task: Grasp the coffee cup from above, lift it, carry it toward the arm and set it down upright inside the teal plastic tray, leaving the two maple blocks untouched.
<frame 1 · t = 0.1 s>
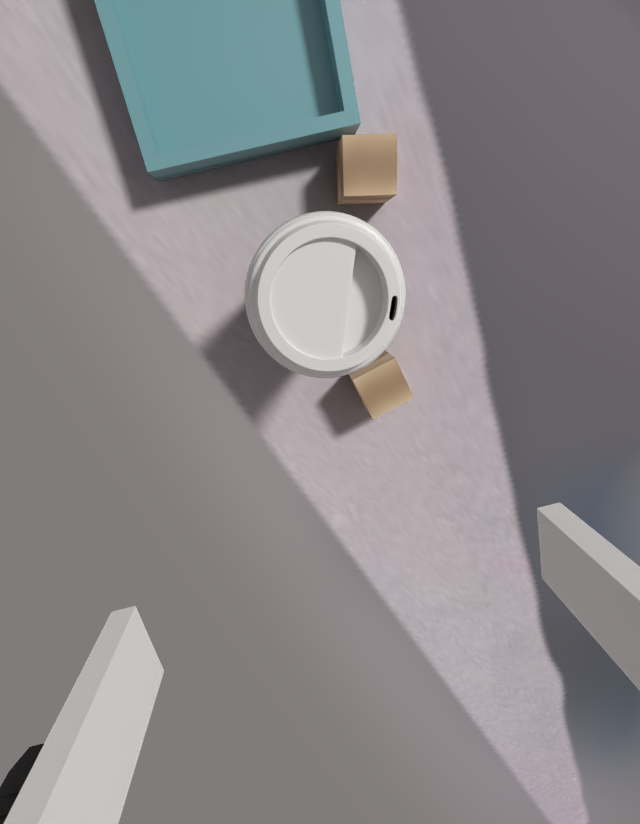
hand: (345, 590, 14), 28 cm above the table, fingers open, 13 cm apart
tray: (228, 38, 32), on the table
coffee cup: (311, 292, 38), on the table
maple block A: (374, 378, 41), on the table
maple block B: (360, 177, 36), on the table
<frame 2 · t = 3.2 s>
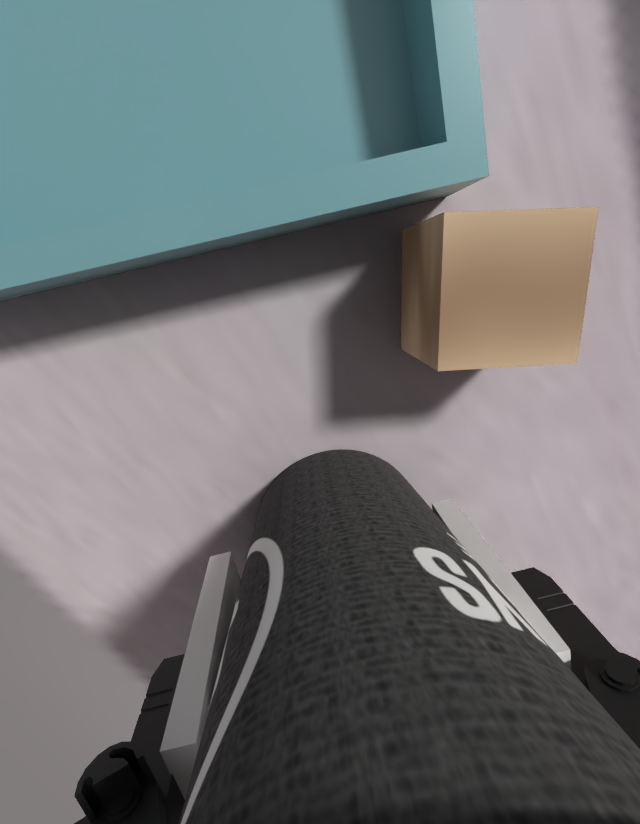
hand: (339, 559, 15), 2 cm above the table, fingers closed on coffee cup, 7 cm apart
coffee cup: (337, 520, 18), on the table, touching gripper
maple block B: (457, 288, 15), on the table
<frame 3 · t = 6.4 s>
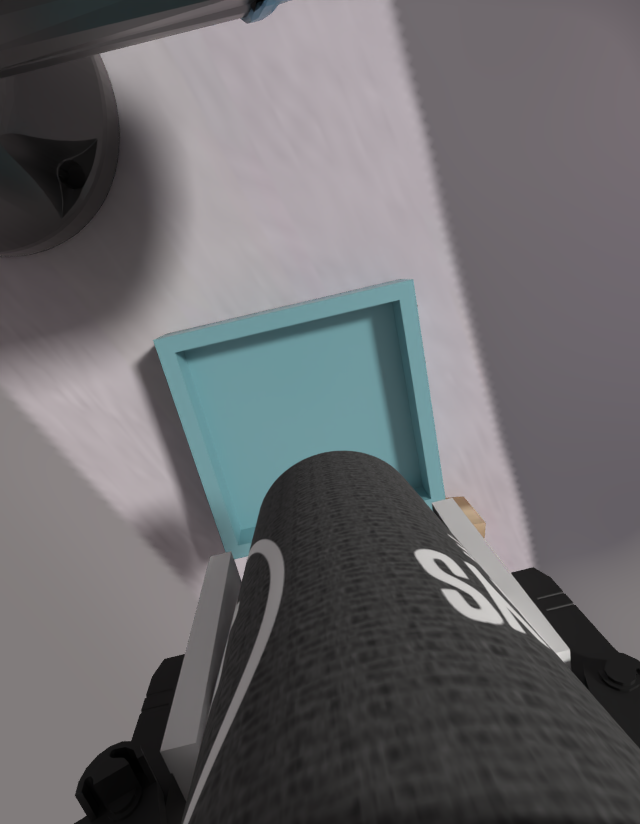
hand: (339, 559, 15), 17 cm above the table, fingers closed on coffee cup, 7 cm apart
tray: (310, 417, 31), on the table
coffee cup: (338, 521, 18), point 14 cm above the table, touching gripper
maple block B: (437, 520, 35), on the table
when the fingers open (4 cm above the table, at t = 9.3 s): coffee cup drops 1 cm, resting on tray.
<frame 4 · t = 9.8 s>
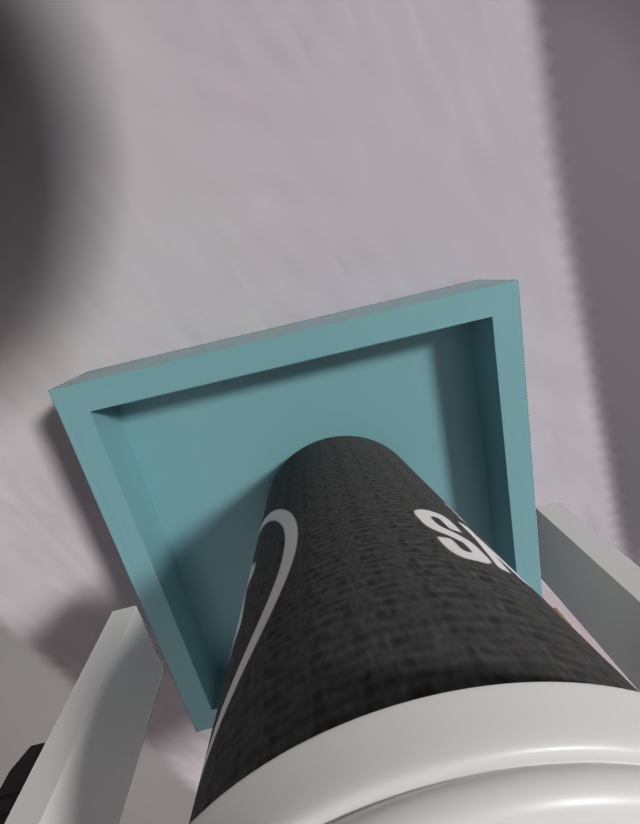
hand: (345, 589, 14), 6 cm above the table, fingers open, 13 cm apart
tray: (327, 499, 20), on the table
coffee cup: (342, 504, 19), point 1 cm above the table, touching tray
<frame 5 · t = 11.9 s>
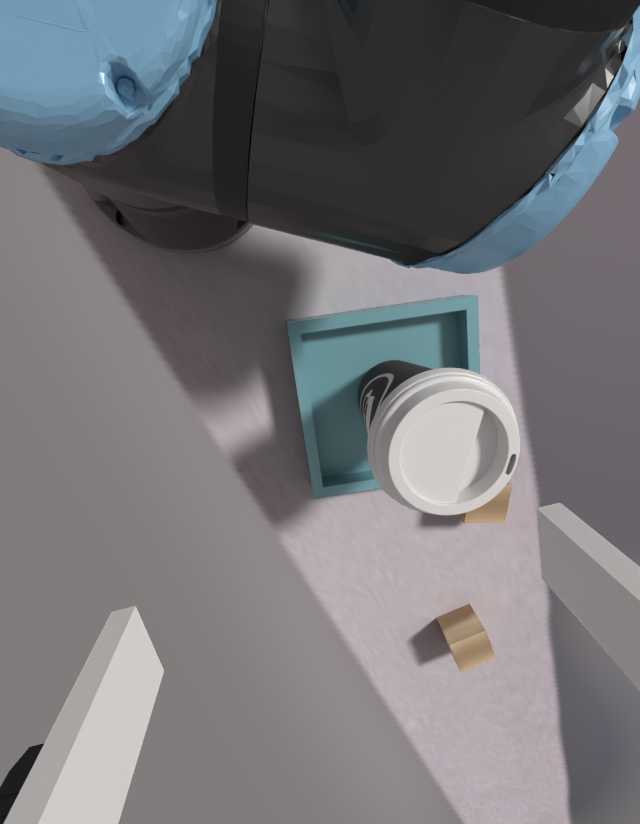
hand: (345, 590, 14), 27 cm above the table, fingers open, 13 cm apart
tray: (383, 394, 41), on the table
coffee cup: (392, 394, 40), point 1 cm above the table, touching tray
maple block A: (457, 623, 49), on the table
maple block B: (469, 485, 44), on the table
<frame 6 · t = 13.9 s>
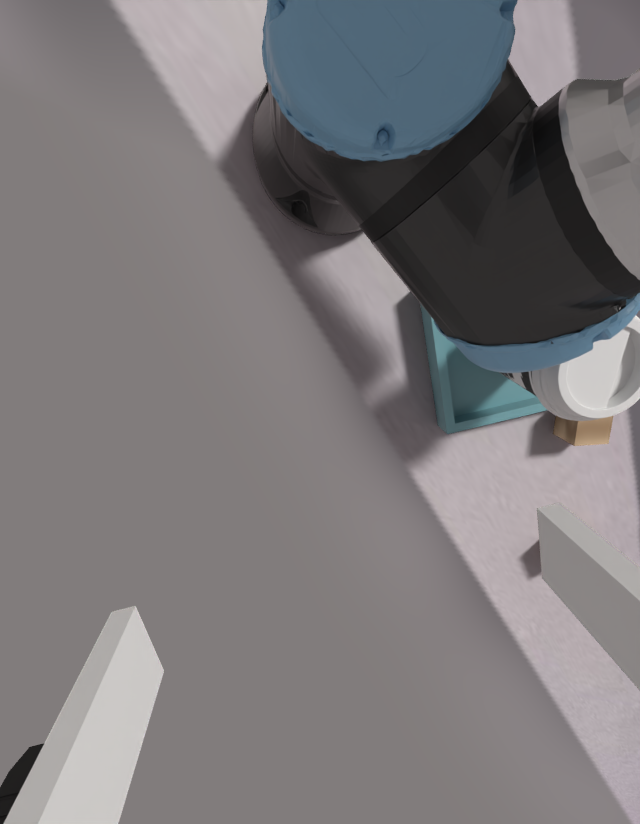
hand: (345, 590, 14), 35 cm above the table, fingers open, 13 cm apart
tray: (498, 342, 48), on the table
coffee cup: (507, 341, 47), point 1 cm above the table, touching tray
maple block B: (570, 416, 51), on the table
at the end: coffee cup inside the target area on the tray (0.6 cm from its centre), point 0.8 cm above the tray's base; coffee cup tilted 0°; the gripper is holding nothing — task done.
